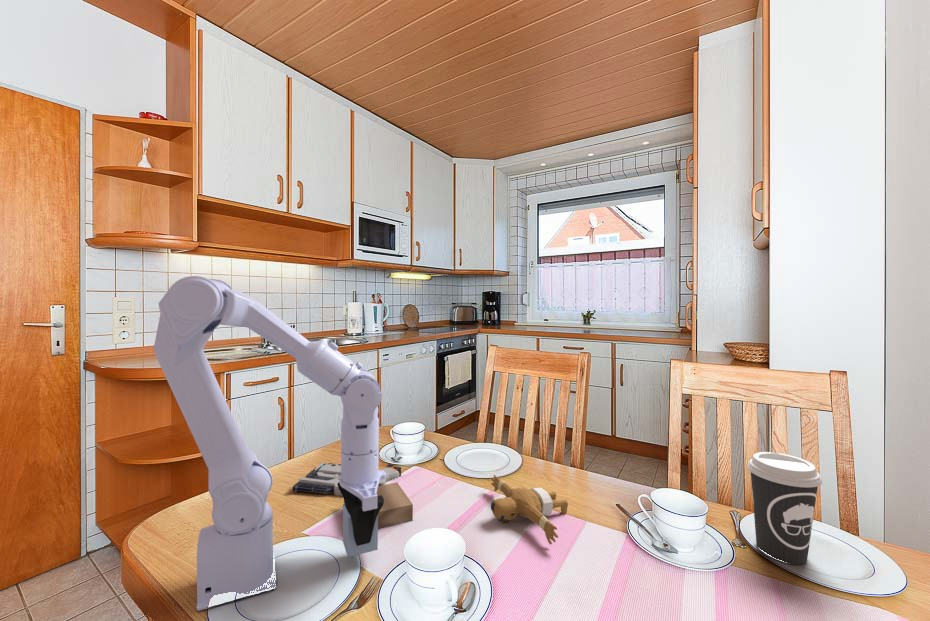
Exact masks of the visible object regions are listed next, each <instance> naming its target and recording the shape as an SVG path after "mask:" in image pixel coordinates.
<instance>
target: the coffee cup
mask: <svg viewBox="0 0 930 621" xmlns="http://www.w3.org/2000/svg"><path fill="white" fill-rule="evenodd" d="M746 469H747V470H748V471H749V472H750V481H751V492H752V503H753V506H752V507H753V513H754V514H753V515H754V516H753V517H754V528H755V529H754V531H755V541H756V542H755V543H756V544H755V545H756V547H757V546H758V547H759V548H760V549H761V550H763V551H764V552H766V553H767V554H769V555H771V556H772V557H774V558H776V559H779V560H782V561H784V562H787V563H790V564H789V565H791V564H793V566H801V565H805V564H806V563H807V562H808V557H809V550H810V549H809V548H810V544H811V536H812V530H813V529H812V528H813V521H814V513H815V508H816V500H817V495H818V494H817V493H818V487H820V486H822V485H823V480H822V477H821V475H820V473H819V472H818V471H817V468H816V465H814V464H813V463H812V462H810V461H808V460H806V459H803V458H800V457H797V456H794V455H790V454H787V453H782V452H781V453H779V452H772V451H760V452H756V453H753V455H752V458H751V459H749V461H748V463H747V466H746Z"/></svg>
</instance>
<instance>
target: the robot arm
mask: <svg viewBox="0 0 930 621" xmlns="http://www.w3.org/2000/svg"><path fill="white" fill-rule="evenodd" d="M158 308H159V313H160V314H159V319H158V320H159V321H158V324H157V330H156V333H155V334H156V335H155V340H154V344H153V352H154V354H155V357H156V359H157V362H158V364H159V366H160V368H161V370H162V372H163V374H164V377H165V379H166V381H167V384H168V385H169V387H170V389H171V392H172V394H173V396H174V398H175V400H176V402H177V405H178V407H179V410H180V411H181V413H182V415H183V417H184V420H185V422H186V424H187V426H188V429H189V431H190V432H191V435H192V437H193V440H194V441H195V443H196V445H197V448H198V451H199V452H200V454H201V456H202V459H203V461H204V462H205V464H206V468H207V469H208V493H209V495H210V497H211V500H212V501H211V502H212V509H211V518H212V522H213V524H211V525H207V526H205V527H202V528H200V530H199V533H198V534H199V535H198V539H197V547H196V548H197V550H196V579H195V580H196V594H197V596H196V597H197V600H196V610H197V611H199V612H200V611H203V610H206V609H208V608H207V607H208V603H209V601H210V599H211V598H212V597H213V596H214V595H218V594H223V593H228V592H236V593H239V594H241V593H244V594H249V593H250V591H253V590H254V591H255V589H256V588H257V589H258V587H259V590H257V589H256V591H257V592H258V591H262V590H265V589H269V588H270V587H271V588H272V587H273V588H274V587H275V586H276V585H275V584H276V581H277V579H276V580H275V578H274V580H275V583H274V580H273V582H272V580H271V582H270V580H269V582H267V580H268V579H269V578H271V575H272V573H273V555H274V524H273V523H274V519H273V518H274V514H273V513H274V512H273V509H272V507H271V506H270V504H269V503H268V498H269V494H270V491H271V490H272V486H273V481H274V480H273V479H274V478H273V474H272V472H271V471H270V469H269V468H268V467H267V466H265V465H264V464H263V463H261V462H260V461H259V459H258V458H257V456H256V454H255V452H254V451H252V450H251V449H250V448H249V447H247V446H246V443H245V441H244V438H243V436H242V433H241V432H240V430H239V426H238V425H237V423H236V421H235V418H234V416H233V414H232V412H231V408H230V407H229V405H228V403H227V400H226V398H225V396H224V394H223V391H222V389H221V387H220V385H219V382H218V380H217V378H216V375H215V373H214V371H213V370H212V367H211V364H210V362H209V360H208V358H207V355H206V353H205V351H204V348H205V346H206V344H207V343H208V341H209V340H210V338H211V337H212V335H213V333H214V331H215V330H216V328H218V327H219V326H220V325H222V326H231V327H242V328H247V329H249V330H251V331H252V332H253V333H255V334H257V335H258V336H259V337H261V338H263V339H264V340H267V342H269V343H271V344H272V345H274V346H275V347H277V348H278V349H280V350H282V351H283V352H285V354H288V355H290V356H291V357H293V358H294V359H295V360H296V369H297V372H298V373H300V374H301V375H303V376H304V377H306V378H307V379H308V380H310V381H311V382H313V383H314V384H316V385H317V386H319V387H320V388H321V389H323V390H325V391H326V392H327V393H329V394H330V395H332V396H338V397H340V399H341V403H342V419H341V420H340V422H341V423H340V424H341V425H340V427H341V428H340V433H341V434H340V464H341V476H340V482H339V483H338V484H337V485H338V488H339V490H340V492H341V493H342V496H341V497H342V498H343V504H345V507H346V509H347V511H348V513H349V514H350V517H351V521H352V527H353V534H354V539H355V542H356V545H357V546H359V545H363V544H367V543H370V541H371V537H372V533H373V529H374V525H375V521H376V518H377V515H378V513H379V511H380V509H381V508H382V506H383V504H384V498H383V497H382V495H379V496H377V489H378V485H379V481H380V480H381V479H385V478H386V473H385V471H383V469H379V462H380V460H379V456H380V455H379V454H380V453H379V452H380V451H379V449H380V448H379V447H380V444H379V443H380V442H379V441H380V440H379V439H380V435H379V434H380V425H379V424H380V420H379V406H380V403H381V401H382V399H383V393H382V391H381V386H380V384H379V382H378V381H377V379H376V377H375V376H374V375H373V374H372V373H370V371H369V370H368V369H366V368H364V366H363V364H361V363H360V362H359V361H357V362H353V361H352V360H351V359H350V358H348V357H346V355H344V354H343V353H342V352H340V351H338V349H339V345H337V344H336V343H334V342H333V341H330V343H328V342H327V341H325V340H323V339H322V340H321V339H320V340H314V341H310V340H308V339H307V338H306V337H305V336H303V335H302V334H300V333H299V332H298V331H297V330H295V329H294V328H293V327H291V326H290V325H289V324H288V323H286V322H285V321H284V320H282V319H281V318H280V317H278V316H277V315H276V314H275V313H273V312H272V310H270V309H269V308H267V307H266V306H264V305H263V304H262V303H260V302H259V301H258V300H256V299H255V298H252V297H251V296H250V295H248V294H246V293H244V292H242V291H240V290H238V289H233V287H232V286H231V285H230V284H229V283H227V282H226V281H223V280H221V279H216V278H215V279H214V278H207V277H203V276H199V275H191V276H185V277H182V278H180V279H178V280H176V281H175V282H174V283H173V284H172V285H171V286H170V287H169V288H168V290H167V291H166V293H165V294H164V295H163V297H162V298H161V300H160V301H159V302H158ZM274 573H275V572H274ZM274 576H275V575H274ZM272 579H273V578H272ZM266 582H267V584H268V583H269V584H270V585H271V584H272V585H271V586H270V587H269V588H267V585H266V587H265V585H264V587H263V584H264V583H266ZM269 584H268V585H269ZM273 584H274V585H273ZM260 586H262V587H263V588H262V587H261V589H260ZM247 592H248V593H247ZM251 593H252V592H251ZM253 593H254V592H253Z"/></svg>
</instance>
